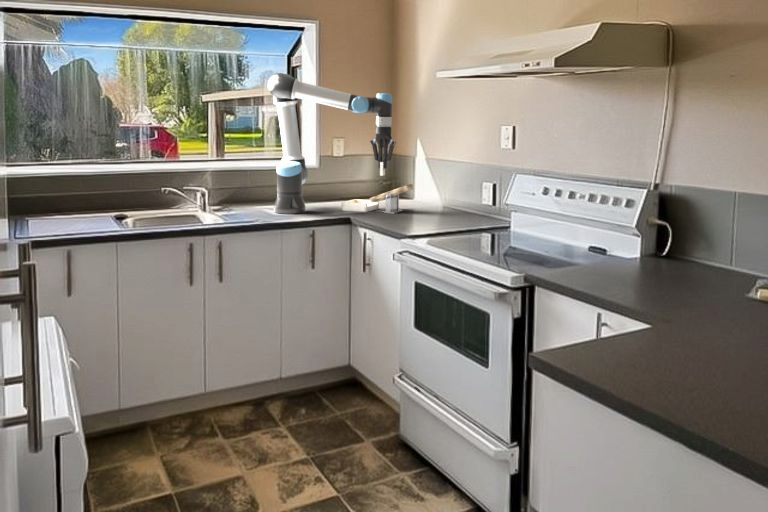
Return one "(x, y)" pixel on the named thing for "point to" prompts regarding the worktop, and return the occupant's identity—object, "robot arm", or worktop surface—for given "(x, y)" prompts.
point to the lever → (393, 193)
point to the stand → (392, 204)
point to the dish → (360, 205)
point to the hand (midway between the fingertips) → (382, 175)
